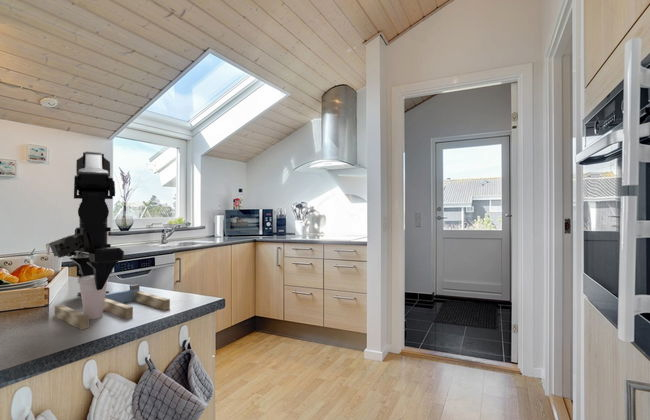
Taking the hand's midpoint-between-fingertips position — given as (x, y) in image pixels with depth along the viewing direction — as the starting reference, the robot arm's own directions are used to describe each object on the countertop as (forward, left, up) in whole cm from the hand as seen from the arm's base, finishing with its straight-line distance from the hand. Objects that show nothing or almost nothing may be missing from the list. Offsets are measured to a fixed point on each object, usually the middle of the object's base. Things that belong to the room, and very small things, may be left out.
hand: (93, 287), depth 88 cm
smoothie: (0, 0, -7) cm, 7 cm away
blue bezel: (-9, +9, -7) cm, 15 cm away
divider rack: (0, +5, -7) cm, 8 cm away
